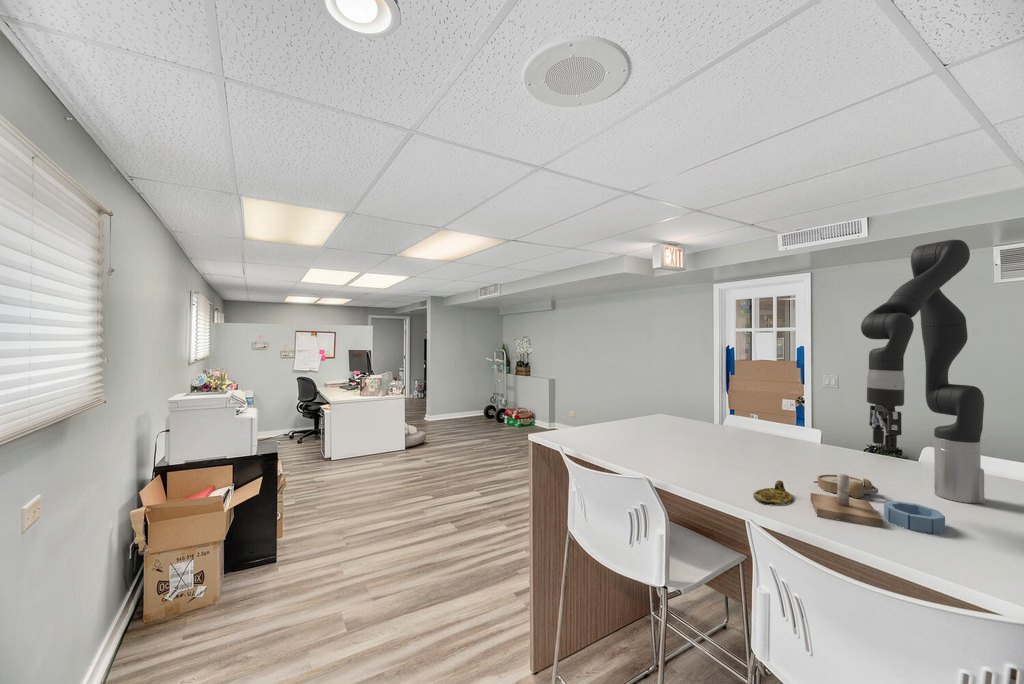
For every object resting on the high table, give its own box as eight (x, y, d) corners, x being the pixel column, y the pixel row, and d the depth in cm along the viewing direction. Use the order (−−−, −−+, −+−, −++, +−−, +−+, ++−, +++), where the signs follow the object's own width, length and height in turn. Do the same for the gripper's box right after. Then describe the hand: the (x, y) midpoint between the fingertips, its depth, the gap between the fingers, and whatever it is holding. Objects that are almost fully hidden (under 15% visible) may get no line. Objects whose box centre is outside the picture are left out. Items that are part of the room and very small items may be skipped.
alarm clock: (827, 472, 136) (884, 477, 122) (831, 488, 135) (887, 494, 122) (808, 477, 131) (865, 483, 117) (811, 494, 130) (868, 501, 117)
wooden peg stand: (868, 508, 113) (868, 472, 113) (881, 527, 102) (881, 486, 102) (810, 499, 120) (810, 465, 120) (817, 516, 108) (816, 478, 108)
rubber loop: (933, 519, 106) (933, 506, 106) (951, 536, 97) (950, 521, 97) (880, 511, 111) (880, 498, 111) (892, 527, 102) (892, 512, 102)
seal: (782, 514, 113) (798, 499, 123) (784, 498, 113) (800, 484, 122) (745, 500, 120) (764, 488, 130) (747, 485, 120) (765, 473, 129)
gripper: (915, 390, 103) (914, 454, 103) (892, 385, 116) (891, 443, 116) (877, 388, 106) (876, 450, 106) (859, 384, 119) (857, 440, 119)
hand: (884, 446), depth 111 cm, fingers open, 8 cm apart
